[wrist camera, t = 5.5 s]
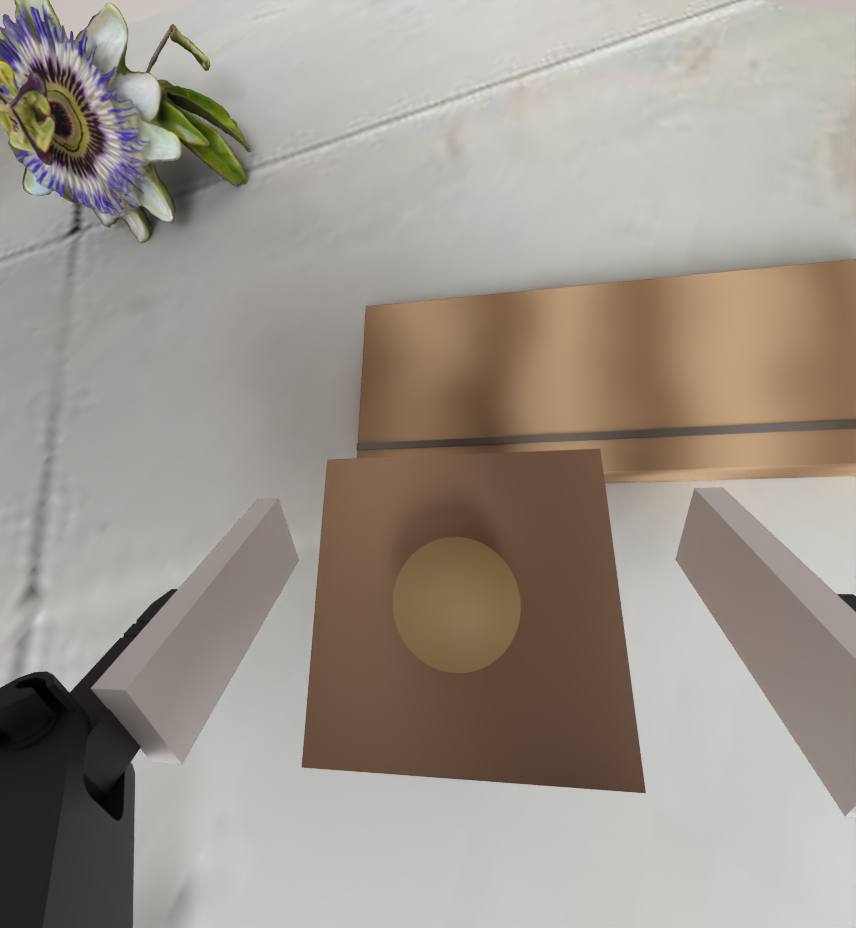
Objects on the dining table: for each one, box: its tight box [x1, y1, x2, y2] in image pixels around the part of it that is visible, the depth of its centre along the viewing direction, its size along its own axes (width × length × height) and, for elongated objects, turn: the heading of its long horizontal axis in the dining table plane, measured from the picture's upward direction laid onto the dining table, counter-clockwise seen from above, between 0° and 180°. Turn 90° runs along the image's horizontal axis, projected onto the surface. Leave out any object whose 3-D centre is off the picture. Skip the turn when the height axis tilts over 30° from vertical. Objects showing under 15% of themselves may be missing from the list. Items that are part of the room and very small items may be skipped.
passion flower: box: [0, 0, 251, 243], centre depth 24 cm, size 11×11×12 cm
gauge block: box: [302, 449, 646, 793], centre depth 11 cm, size 5×5×12 cm
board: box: [357, 259, 856, 483], centre depth 17 cm, size 24×9×2 cm, turn 90°
